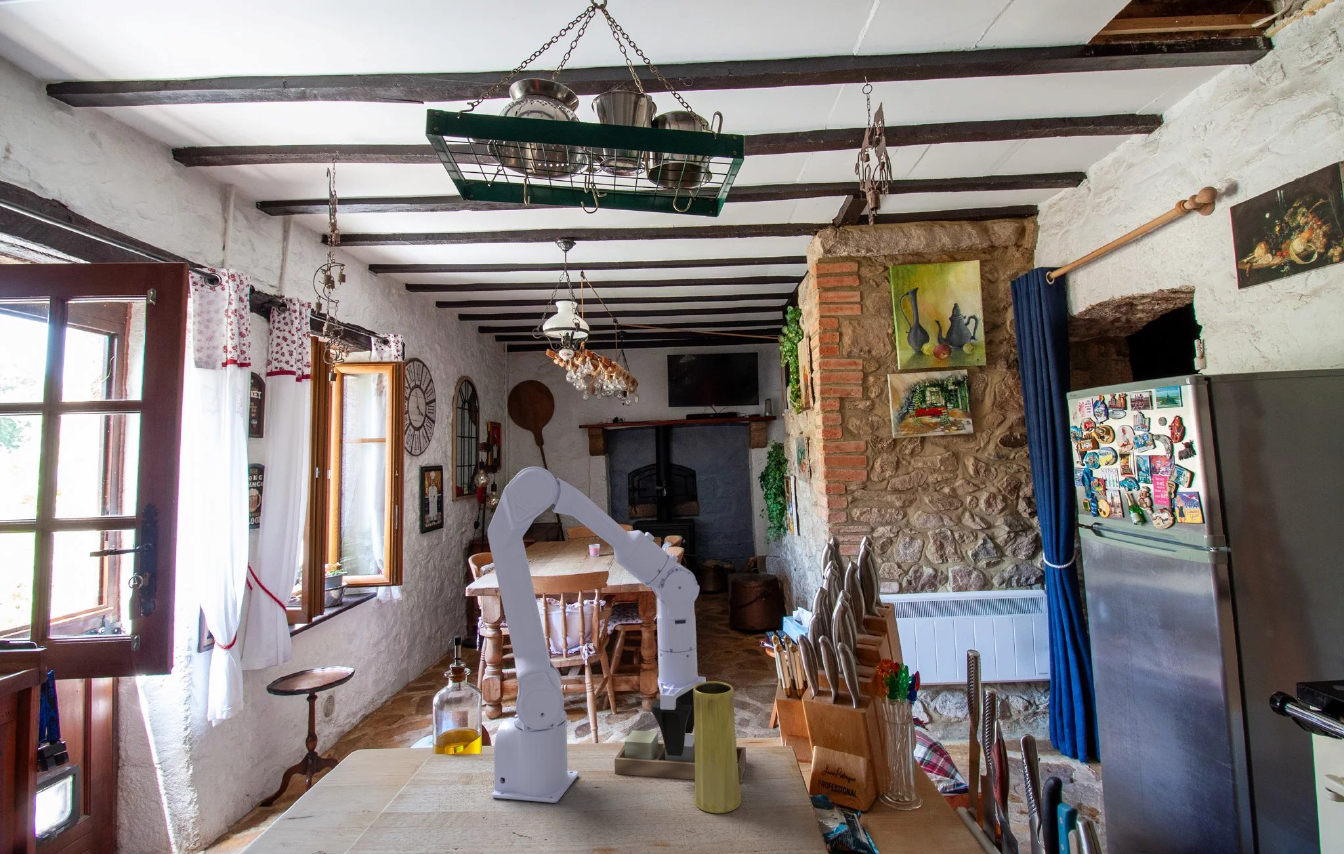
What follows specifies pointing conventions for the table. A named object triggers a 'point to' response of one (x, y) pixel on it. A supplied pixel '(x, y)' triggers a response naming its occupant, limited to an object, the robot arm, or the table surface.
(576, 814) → the table surface
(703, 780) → the vase
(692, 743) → the grey block
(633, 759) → the walnut rack
